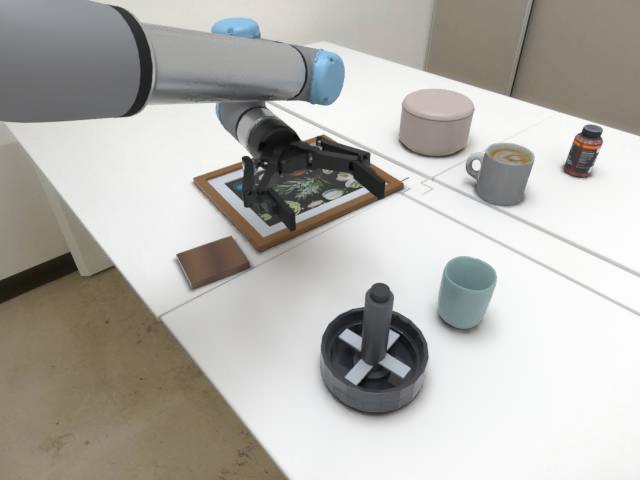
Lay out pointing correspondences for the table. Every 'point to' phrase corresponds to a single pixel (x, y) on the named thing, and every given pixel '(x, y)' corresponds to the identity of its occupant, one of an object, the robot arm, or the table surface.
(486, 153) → the coffee mug
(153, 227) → the table surface
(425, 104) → the container
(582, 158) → the supplement bottle
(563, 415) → the table surface
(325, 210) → the wall art
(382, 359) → the blade
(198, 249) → the board
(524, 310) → the table surface
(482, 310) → the cup
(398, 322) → the processor bowl
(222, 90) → the robot arm
